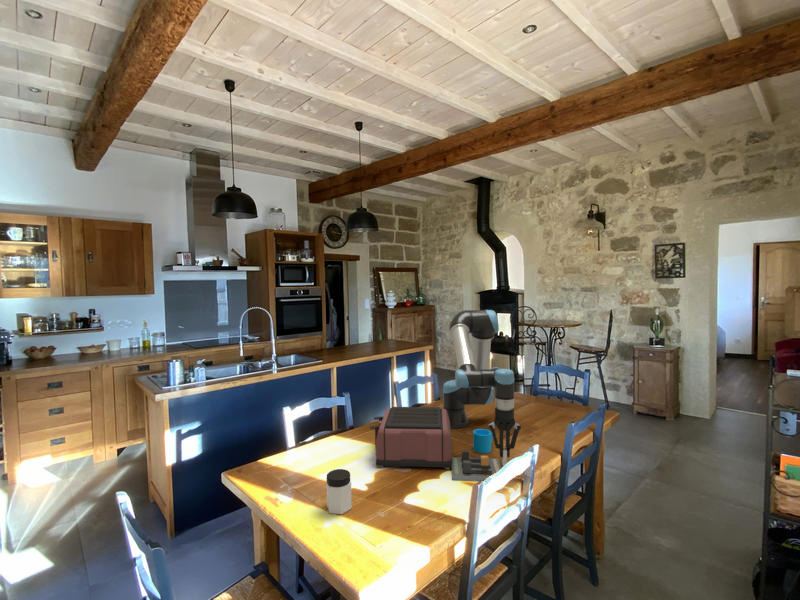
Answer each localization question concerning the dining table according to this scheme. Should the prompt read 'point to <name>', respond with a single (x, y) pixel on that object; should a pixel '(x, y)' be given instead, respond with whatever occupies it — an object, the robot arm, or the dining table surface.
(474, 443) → the mug
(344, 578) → the dining table surface
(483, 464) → the breaker
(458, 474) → the panel
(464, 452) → the breaker
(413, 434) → the toaster
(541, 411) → the dining table surface
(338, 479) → the jar
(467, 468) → the breaker
